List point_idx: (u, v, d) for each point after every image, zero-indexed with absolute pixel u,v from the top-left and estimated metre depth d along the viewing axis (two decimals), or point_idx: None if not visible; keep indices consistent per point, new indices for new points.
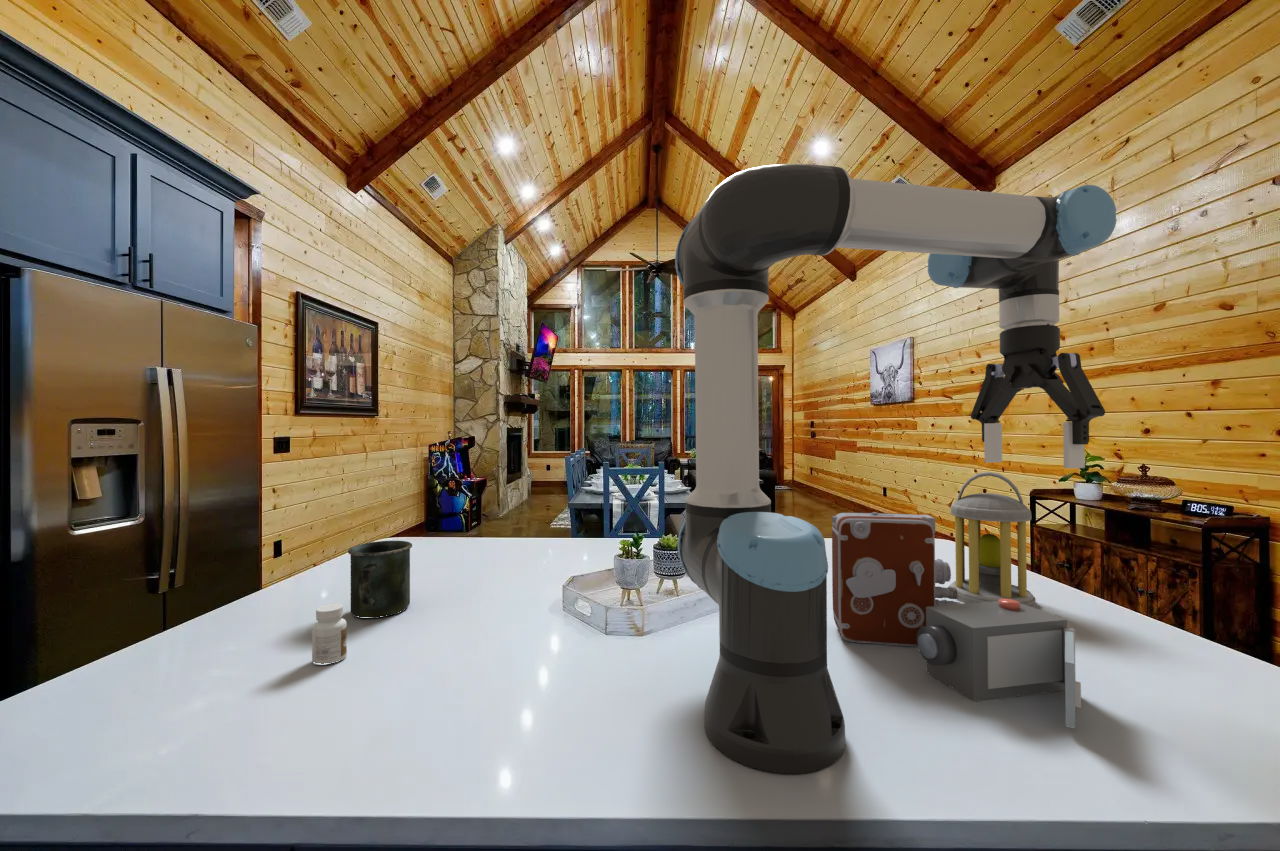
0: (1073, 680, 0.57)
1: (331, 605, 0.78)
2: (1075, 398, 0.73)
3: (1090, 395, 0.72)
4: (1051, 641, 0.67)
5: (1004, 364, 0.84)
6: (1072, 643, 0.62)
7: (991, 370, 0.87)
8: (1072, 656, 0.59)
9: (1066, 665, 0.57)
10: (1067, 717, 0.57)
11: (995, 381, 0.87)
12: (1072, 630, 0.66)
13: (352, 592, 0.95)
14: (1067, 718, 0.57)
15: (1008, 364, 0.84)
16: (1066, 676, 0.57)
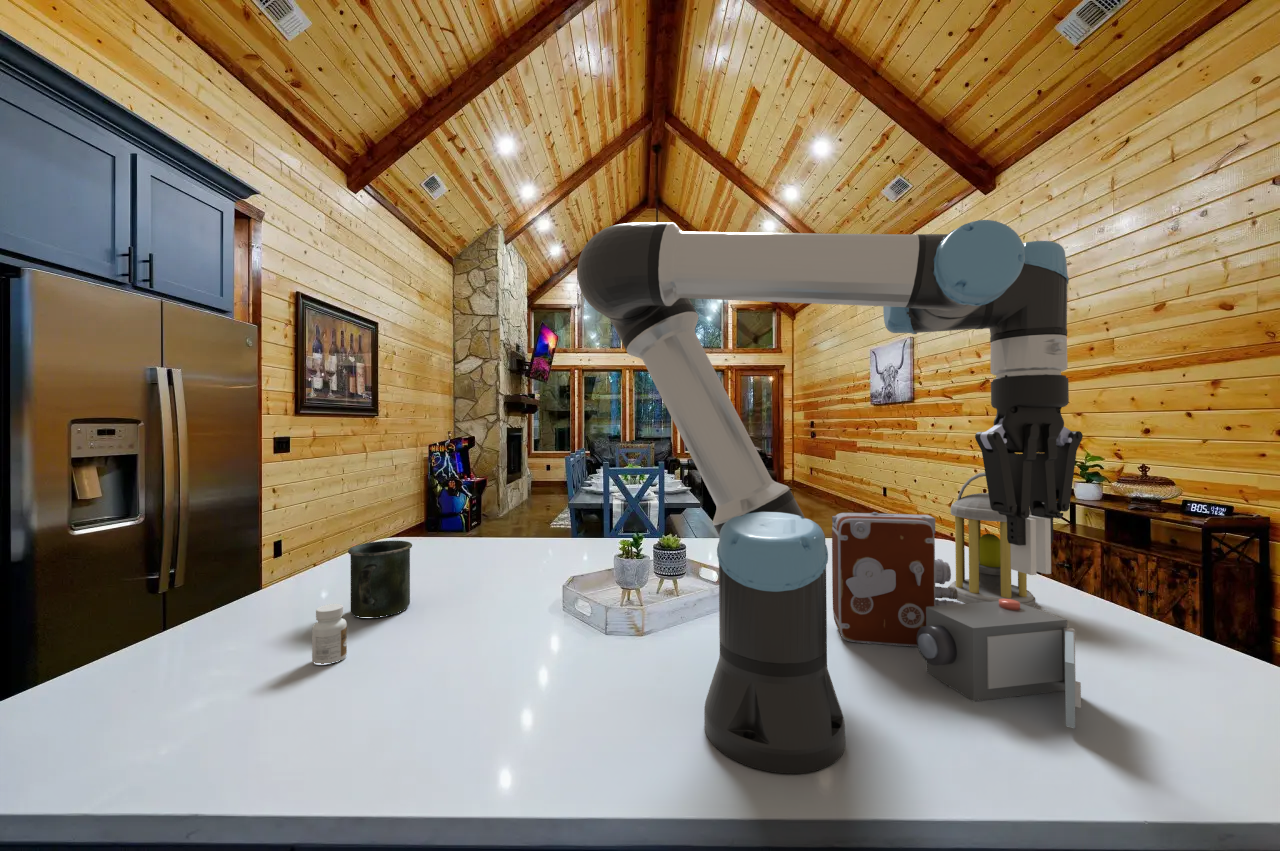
0: (1073, 680, 0.57)
1: (331, 605, 0.78)
2: None
3: (997, 489, 0.62)
4: (1051, 641, 0.67)
5: None
6: (1072, 643, 0.62)
7: None
8: (1072, 656, 0.59)
9: (1066, 665, 0.57)
10: (1067, 717, 0.57)
11: (1058, 450, 0.64)
12: (1072, 630, 0.66)
13: (352, 592, 0.95)
14: (1067, 718, 0.57)
15: None
16: (1066, 676, 0.57)
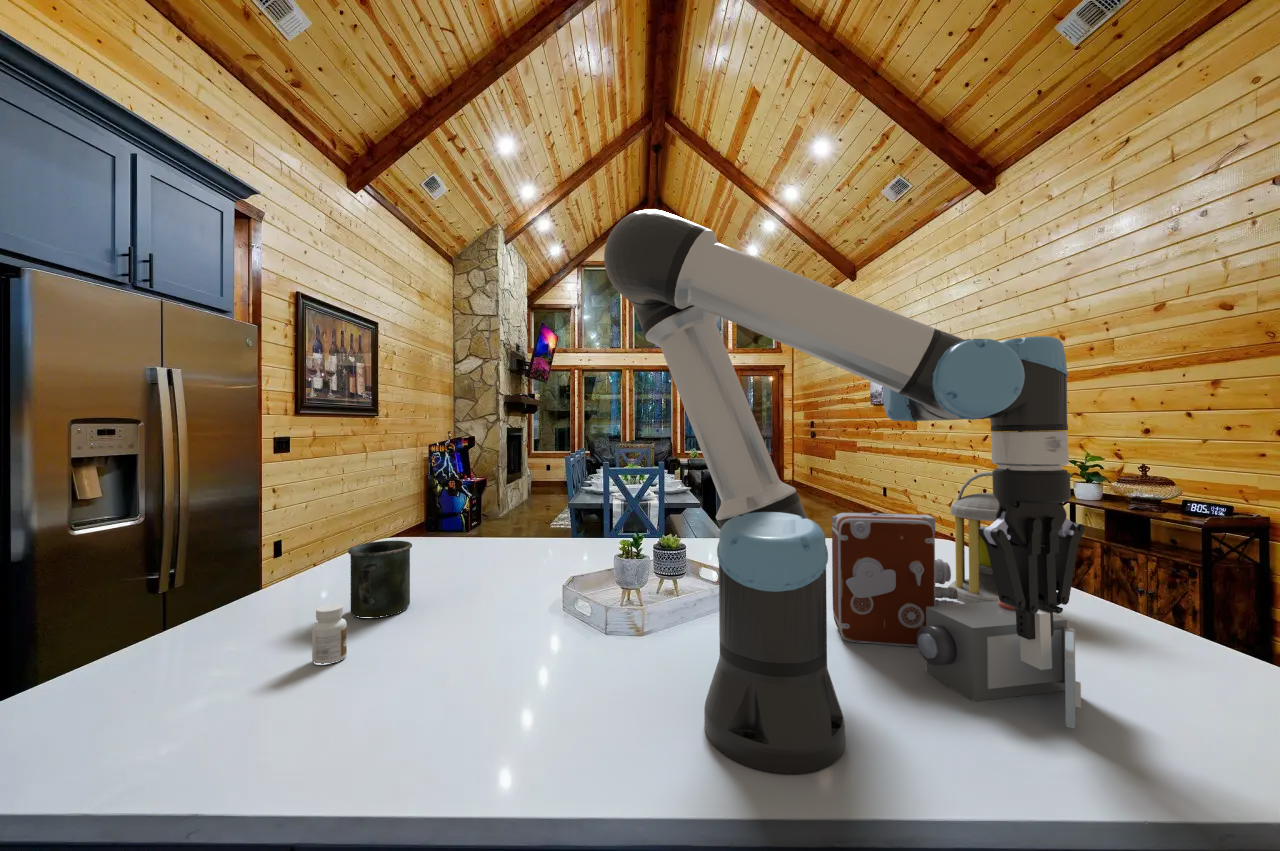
0: (1073, 680, 0.57)
1: (331, 605, 0.78)
2: None
3: (1005, 584, 0.62)
4: (1051, 641, 0.67)
5: None
6: (1072, 643, 0.62)
7: None
8: (1072, 656, 0.59)
9: (1066, 665, 0.57)
10: (1067, 717, 0.57)
11: (1059, 541, 0.64)
12: (1072, 630, 0.66)
13: (352, 592, 0.95)
14: (1067, 718, 0.57)
15: None
16: (1066, 676, 0.57)
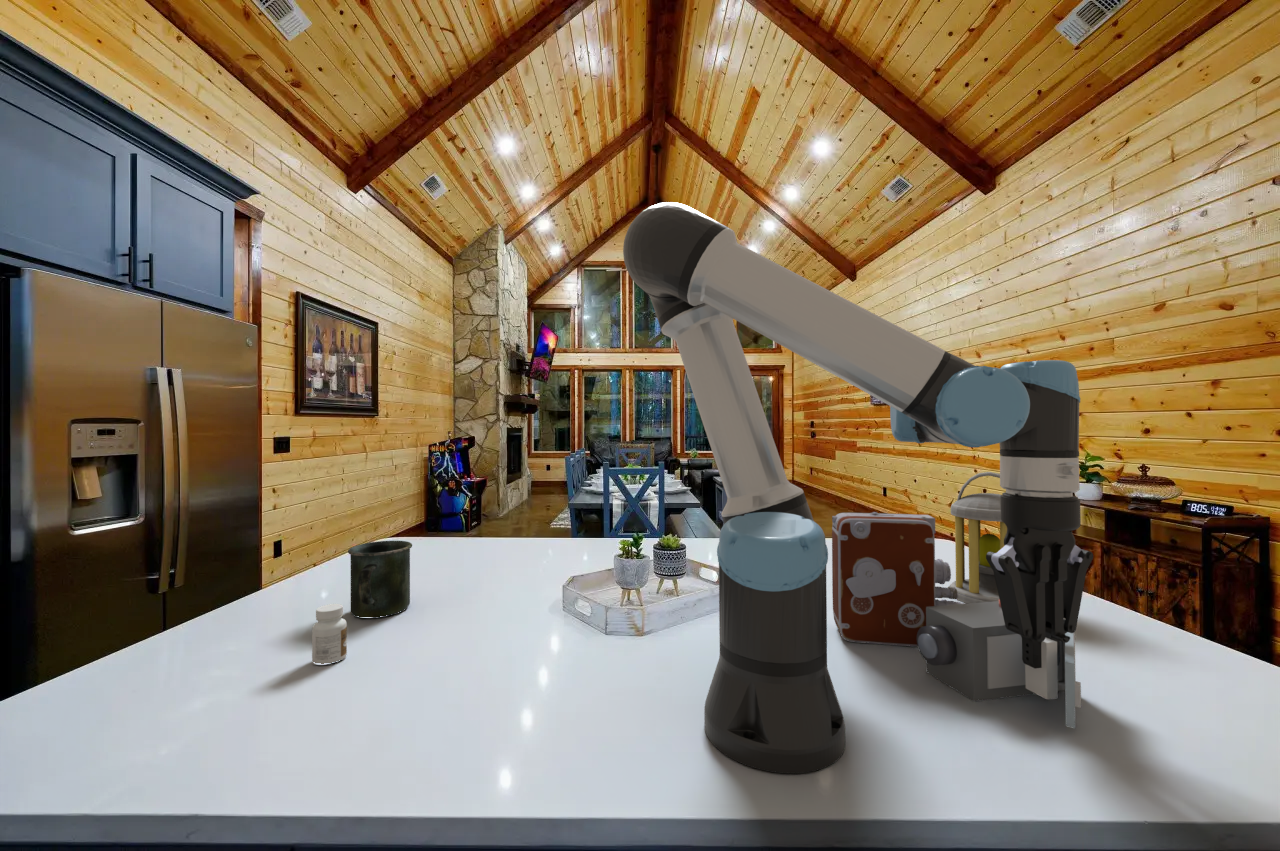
0: (1073, 680, 0.57)
1: (331, 605, 0.78)
2: None
3: (1012, 611, 0.61)
4: None
5: None
6: (1072, 643, 0.62)
7: None
8: (1072, 656, 0.59)
9: (1066, 665, 0.57)
10: (1067, 717, 0.57)
11: (1067, 568, 0.63)
12: None
13: (352, 592, 0.95)
14: (1067, 718, 0.57)
15: None
16: (1066, 676, 0.57)
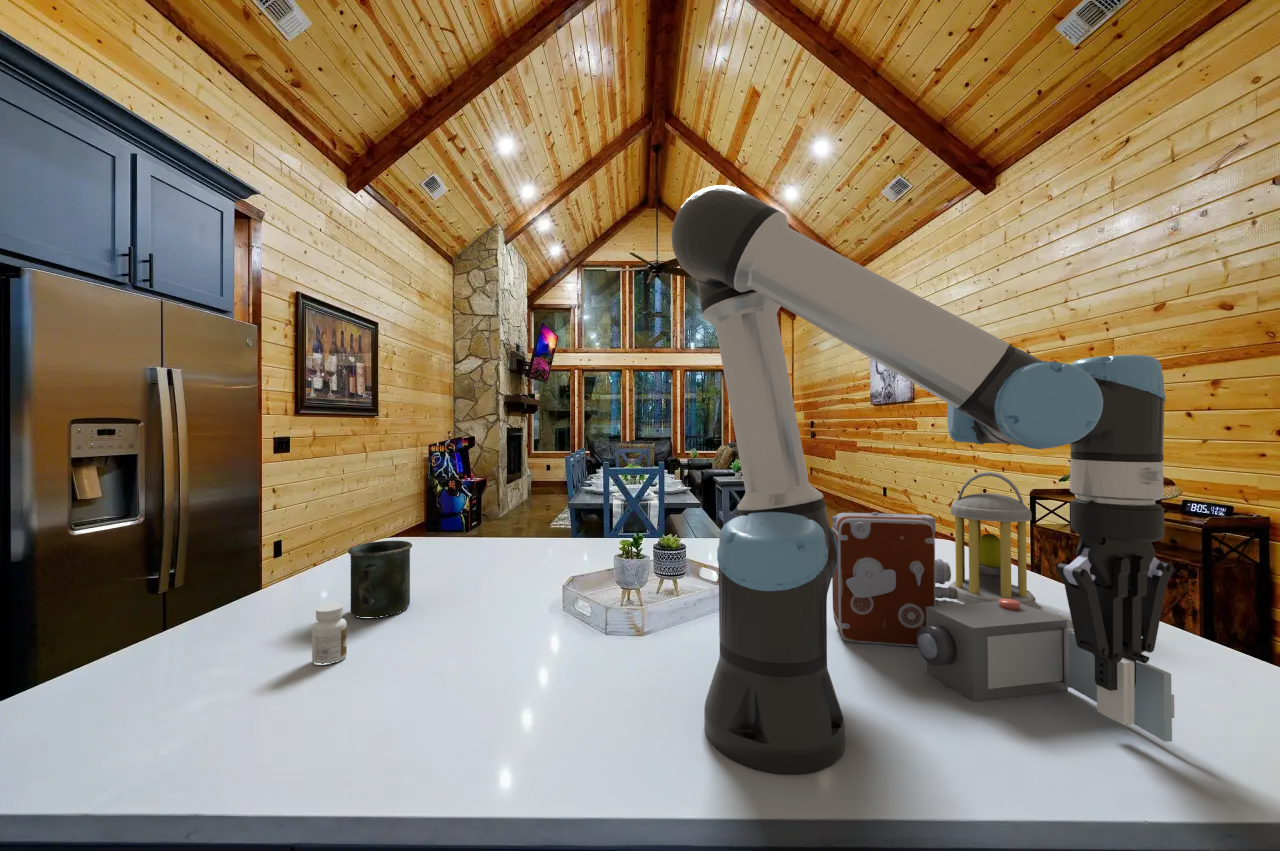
0: (1170, 691, 0.55)
1: (331, 605, 0.78)
2: None
3: (1085, 628, 0.56)
4: (1051, 641, 0.67)
5: None
6: None
7: None
8: (1148, 664, 0.57)
9: (1165, 677, 0.54)
10: (1165, 732, 0.54)
11: None
12: (1072, 630, 0.66)
13: (352, 592, 0.95)
14: (1165, 733, 0.54)
15: None
16: (1165, 689, 0.54)
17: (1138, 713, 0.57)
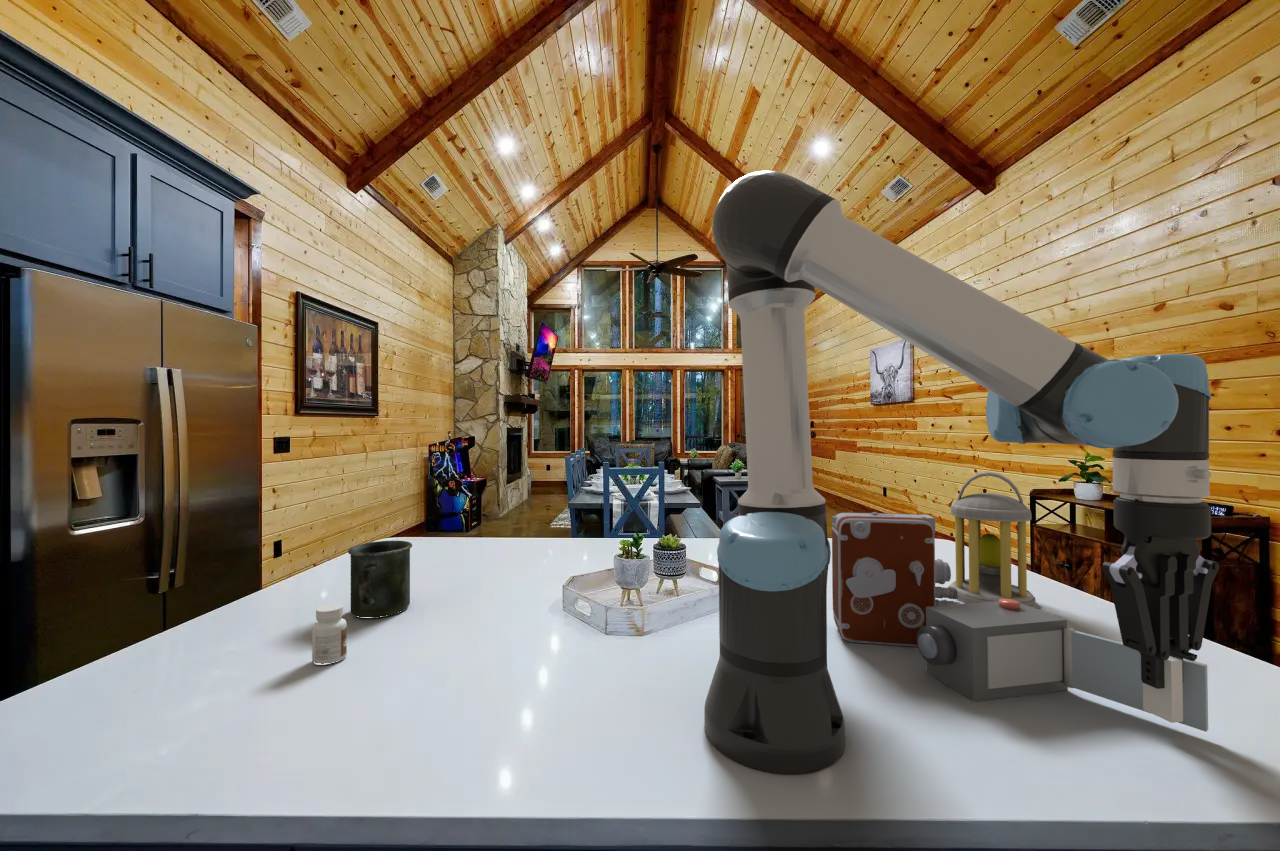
0: (1207, 681, 0.57)
1: (331, 605, 0.78)
2: None
3: (1132, 627, 0.56)
4: (1051, 641, 0.67)
5: None
6: None
7: None
8: None
9: (1205, 669, 0.56)
10: (1206, 722, 0.56)
11: None
12: (1072, 629, 0.67)
13: (352, 592, 0.95)
14: (1206, 723, 0.56)
15: None
16: (1205, 680, 0.56)
17: None
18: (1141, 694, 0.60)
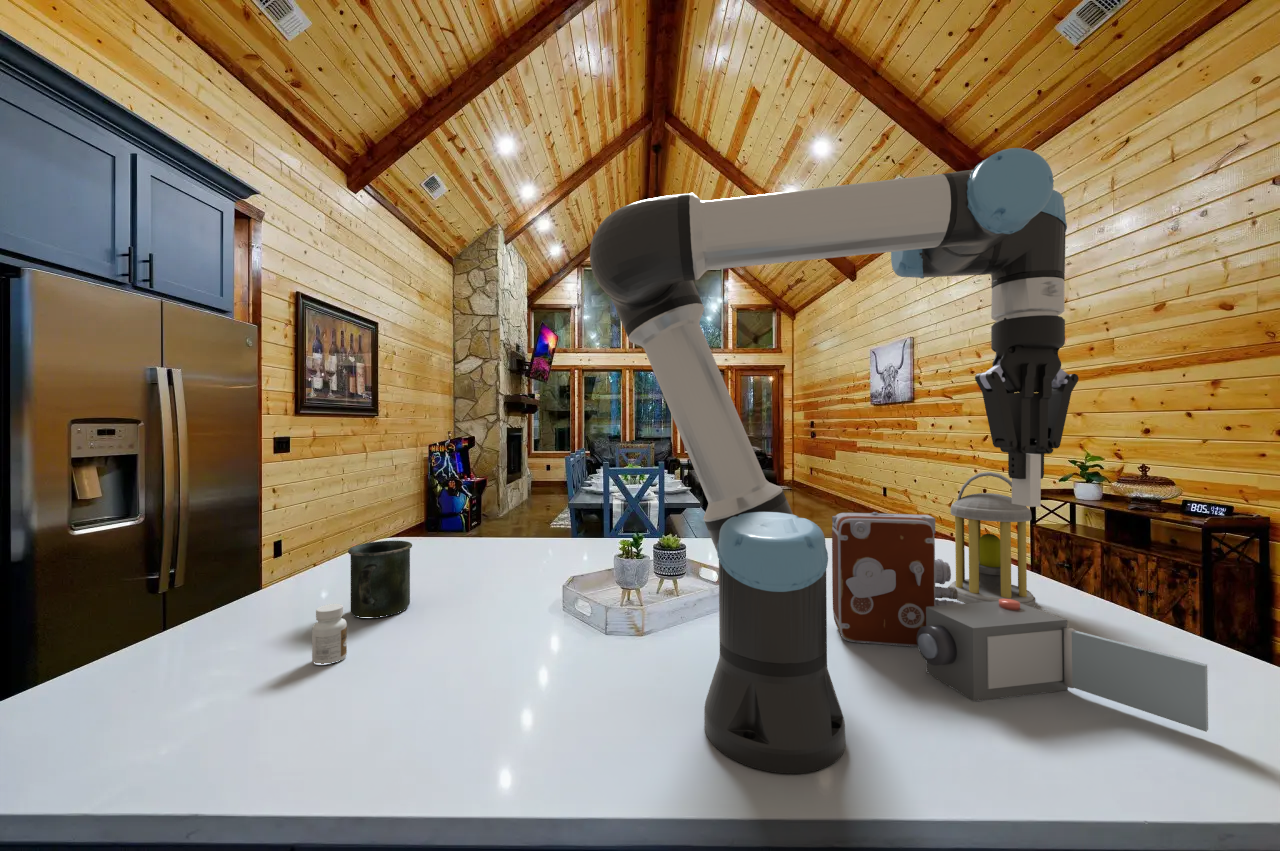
0: (1207, 681, 0.57)
1: (331, 605, 0.78)
2: None
3: (998, 426, 0.66)
4: (1051, 641, 0.67)
5: None
6: (1124, 643, 0.62)
7: None
8: (1178, 657, 0.58)
9: (1205, 669, 0.56)
10: (1206, 722, 0.56)
11: (1053, 392, 0.67)
12: (1072, 629, 0.67)
13: (352, 592, 0.95)
14: (1206, 723, 0.56)
15: None
16: (1206, 680, 0.56)
17: (1170, 706, 0.58)
18: (1141, 694, 0.60)
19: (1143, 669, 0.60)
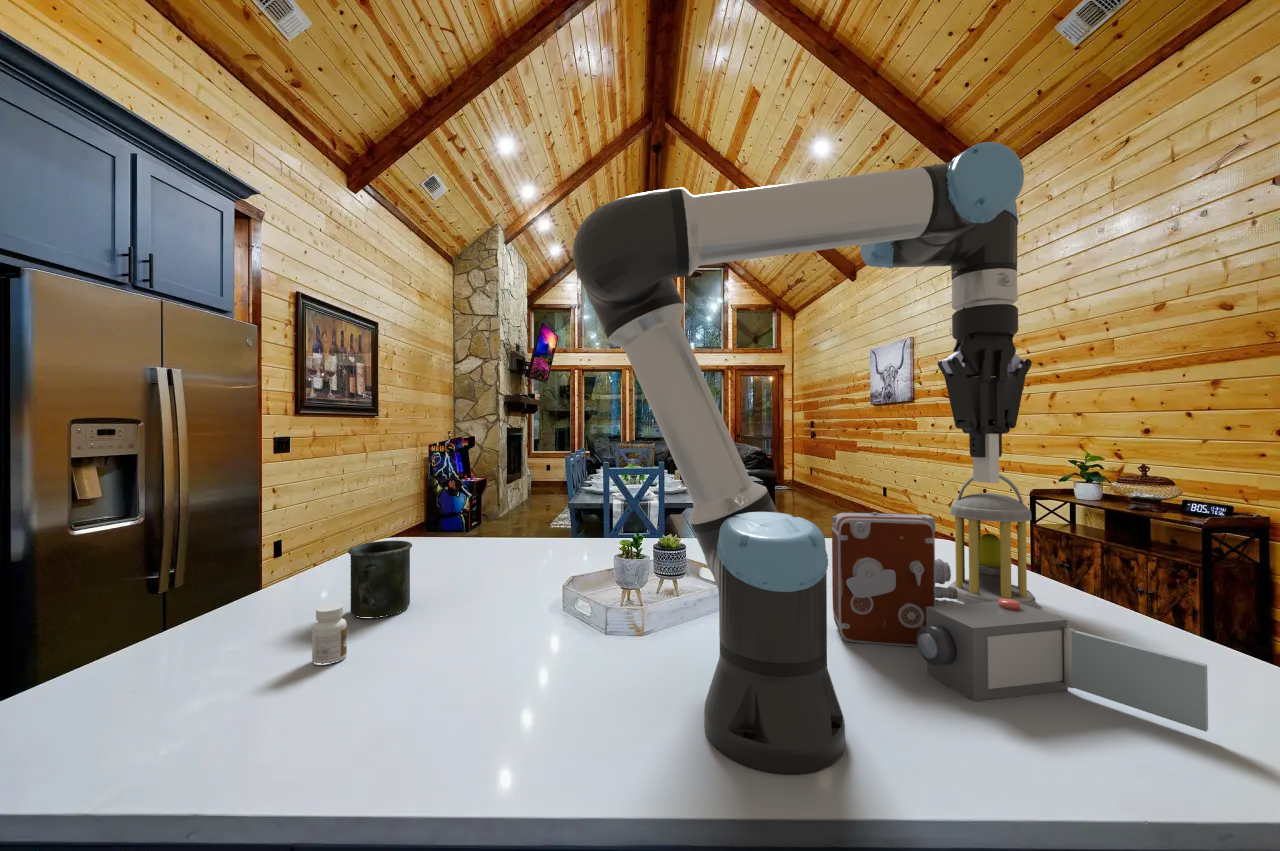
0: (1207, 681, 0.57)
1: (331, 605, 0.78)
2: None
3: (959, 408, 0.70)
4: (1051, 641, 0.67)
5: None
6: (1124, 643, 0.62)
7: None
8: (1178, 657, 0.58)
9: (1205, 669, 0.56)
10: (1206, 722, 0.56)
11: (1009, 376, 0.72)
12: (1072, 629, 0.67)
13: (352, 592, 0.95)
14: (1206, 723, 0.56)
15: None
16: (1206, 680, 0.56)
17: (1170, 706, 0.58)
18: (1141, 694, 0.60)
19: (1143, 669, 0.60)
